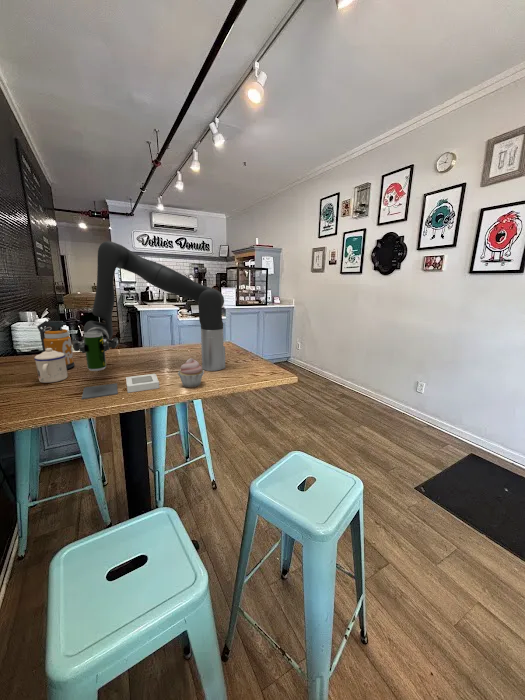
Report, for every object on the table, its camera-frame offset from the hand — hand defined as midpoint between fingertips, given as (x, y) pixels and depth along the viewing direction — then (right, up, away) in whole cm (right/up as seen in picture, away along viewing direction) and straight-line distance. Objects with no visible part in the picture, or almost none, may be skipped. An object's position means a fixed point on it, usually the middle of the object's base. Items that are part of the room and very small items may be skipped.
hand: (94, 349), depth 89 cm
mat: (-1, -14, +6) cm, 15 cm away
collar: (+10, -13, +12) cm, 20 cm away
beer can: (-1, -7, +4) cm, 8 cm away
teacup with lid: (-24, -12, +15) cm, 31 cm away
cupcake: (+27, -13, +14) cm, 33 cm away
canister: (-32, -8, +29) cm, 43 cm away
